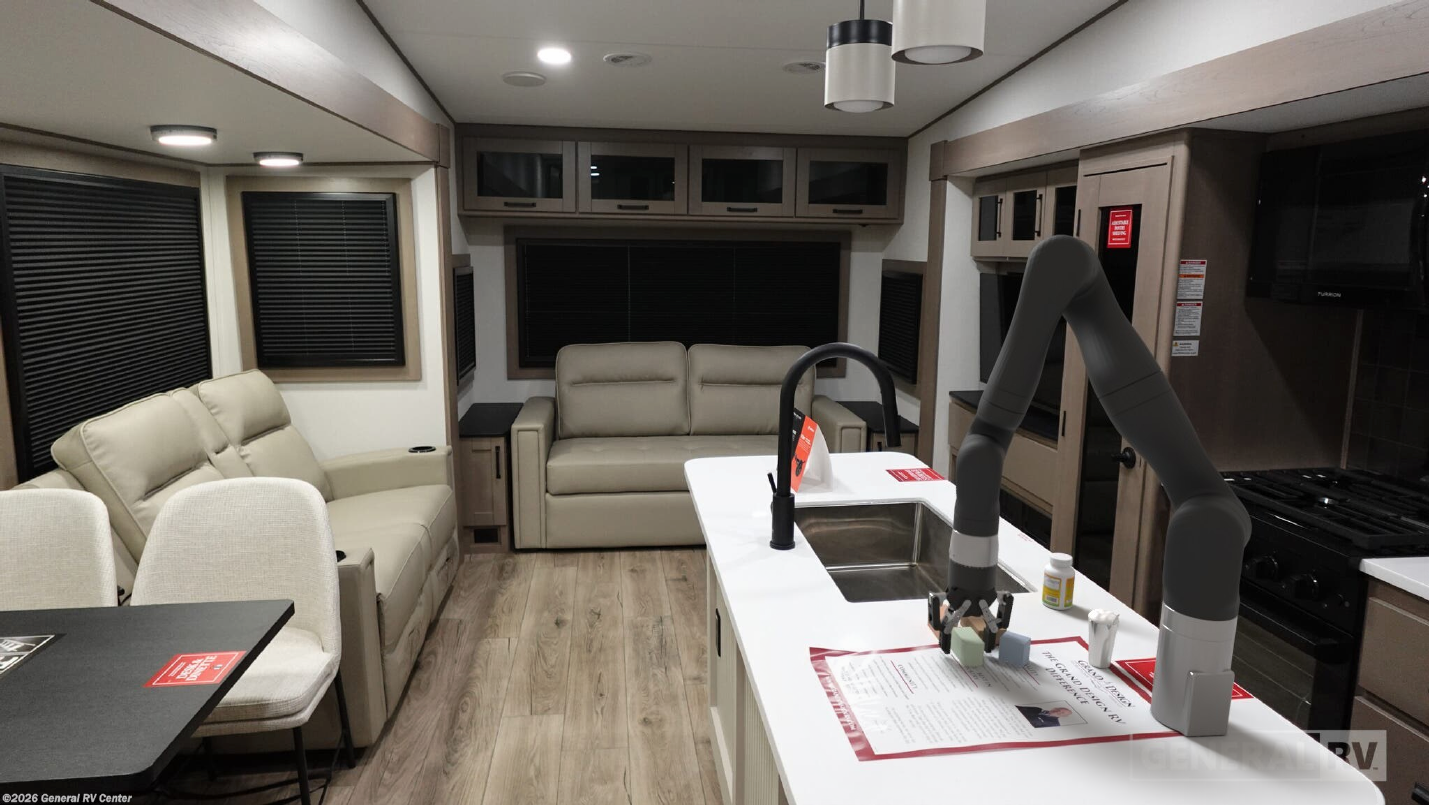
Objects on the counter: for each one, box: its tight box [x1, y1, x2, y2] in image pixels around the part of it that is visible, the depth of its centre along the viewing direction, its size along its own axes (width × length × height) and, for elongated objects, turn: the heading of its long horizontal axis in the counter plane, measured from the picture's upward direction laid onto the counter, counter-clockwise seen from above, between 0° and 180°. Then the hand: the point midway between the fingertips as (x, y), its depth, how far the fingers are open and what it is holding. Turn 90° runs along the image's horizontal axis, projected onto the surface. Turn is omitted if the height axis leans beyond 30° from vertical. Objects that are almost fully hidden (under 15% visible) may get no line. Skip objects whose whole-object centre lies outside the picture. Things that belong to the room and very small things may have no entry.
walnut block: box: [959, 612, 1008, 646], centre depth 148 cm, size 8×5×3 cm, turn 5°
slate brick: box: [997, 630, 1032, 668], centre depth 138 cm, size 4×3×4 cm
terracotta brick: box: [926, 603, 959, 641], centre depth 148 cm, size 6×3×4 cm, turn 5°
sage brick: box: [950, 626, 985, 667], centre depth 139 cm, size 6×3×4 cm, turn 5°
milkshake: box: [1087, 608, 1121, 669], centre depth 136 cm, size 4×5×10 cm
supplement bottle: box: [1041, 552, 1076, 611], centre depth 159 cm, size 5×5×10 cm
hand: (966, 651), depth 139 cm, fingers open, 6 cm apart
